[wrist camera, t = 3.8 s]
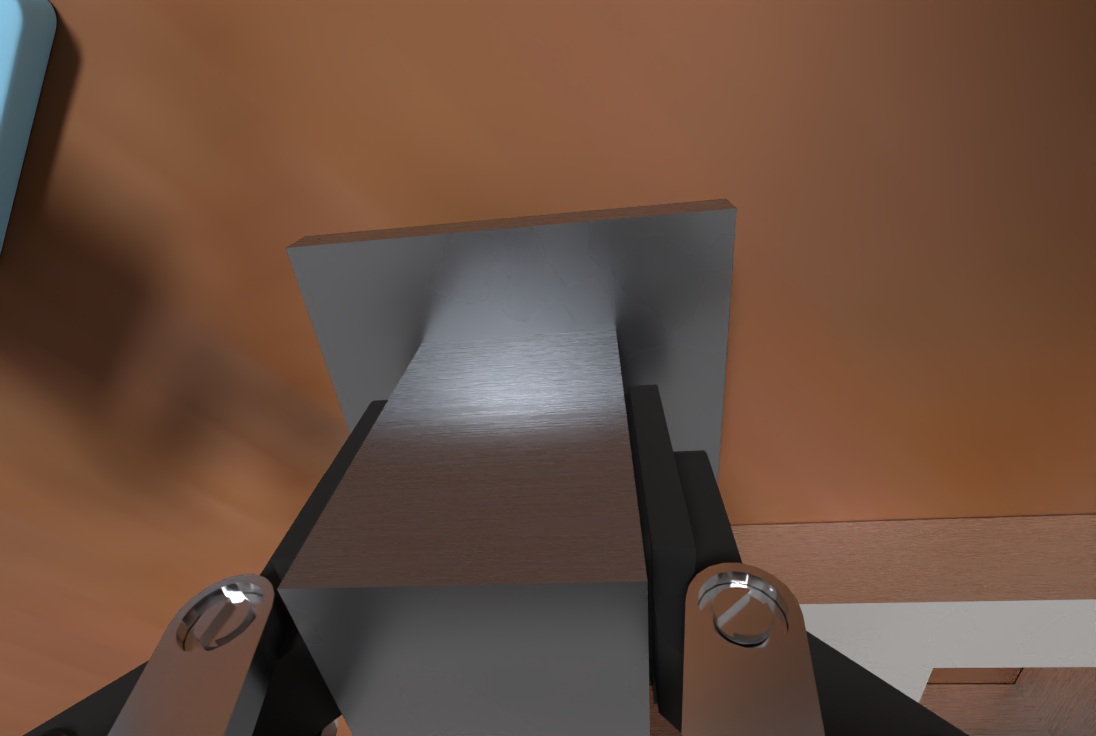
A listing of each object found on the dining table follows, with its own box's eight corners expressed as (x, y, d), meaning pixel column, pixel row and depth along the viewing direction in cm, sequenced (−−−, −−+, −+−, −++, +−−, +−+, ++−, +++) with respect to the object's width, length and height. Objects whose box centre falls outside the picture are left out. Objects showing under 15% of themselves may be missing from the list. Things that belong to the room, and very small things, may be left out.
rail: (475, 533, 18) (457, 610, 16) (1179, 511, 16) (1293, 596, 14) (519, 723, 24) (511, 802, 22) (1043, 726, 22) (1105, 814, 19)
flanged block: (352, 207, 13) (-27, 436, 5) (699, 175, 12) (931, 384, 4) (424, 471, 17) (281, 836, 9) (689, 460, 16) (796, 851, 8)
